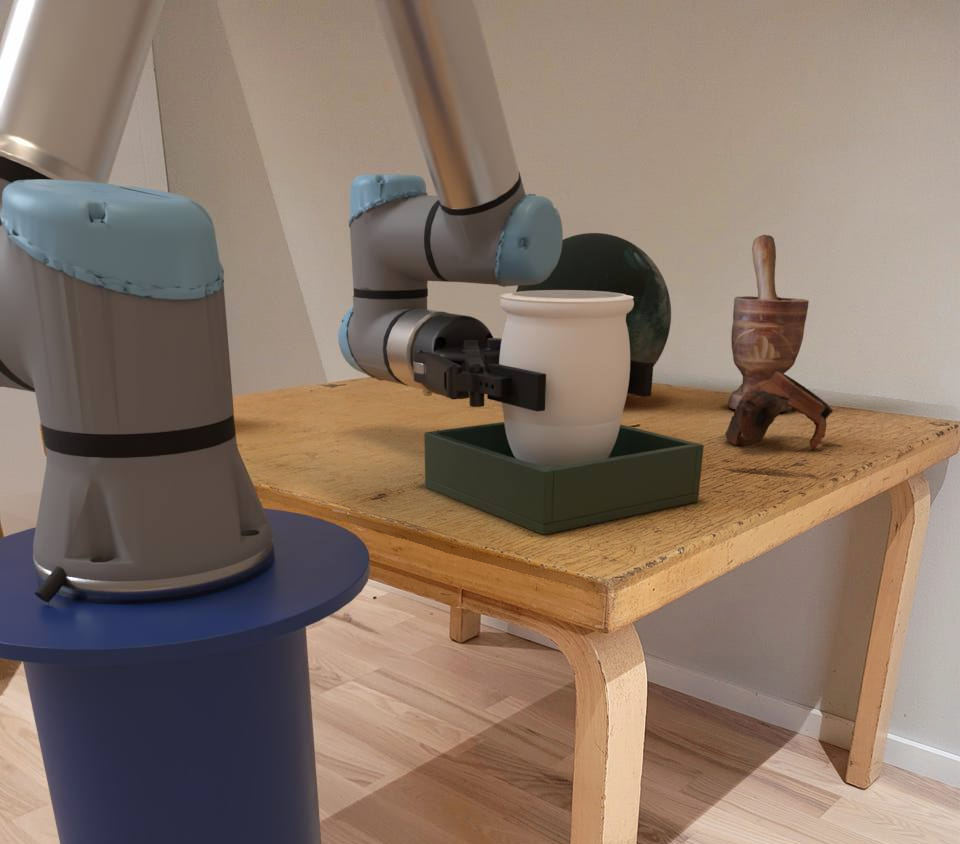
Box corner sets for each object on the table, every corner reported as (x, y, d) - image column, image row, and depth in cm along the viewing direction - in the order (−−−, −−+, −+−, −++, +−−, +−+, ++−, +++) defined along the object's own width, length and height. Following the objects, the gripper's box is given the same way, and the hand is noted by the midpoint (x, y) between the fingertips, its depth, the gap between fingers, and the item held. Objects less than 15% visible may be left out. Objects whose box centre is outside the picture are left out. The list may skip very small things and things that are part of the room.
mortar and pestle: (696, 400, 125) (713, 234, 117) (753, 397, 127) (773, 234, 119) (747, 416, 115) (769, 236, 107) (808, 413, 117) (833, 236, 109)
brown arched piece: (736, 434, 108) (783, 370, 104) (801, 484, 104) (852, 420, 100) (694, 422, 98) (745, 351, 94) (765, 477, 94) (820, 406, 91)
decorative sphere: (679, 413, 116) (696, 235, 108) (515, 413, 115) (519, 233, 107) (646, 387, 134) (659, 232, 126) (504, 386, 134) (507, 231, 126)
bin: (543, 535, 71) (545, 471, 69) (424, 487, 84) (423, 432, 82) (698, 501, 80) (704, 444, 78) (570, 462, 92) (572, 412, 91)
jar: (479, 489, 79) (480, 296, 73) (520, 461, 88) (523, 287, 82) (605, 502, 75) (617, 301, 69) (634, 472, 84) (647, 291, 78)
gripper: (536, 383, 99) (695, 418, 83) (337, 406, 87) (477, 452, 70) (538, 307, 96) (704, 327, 79) (333, 319, 84) (477, 346, 67)
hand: (597, 386), depth 75 cm, fingers closed on jar, 10 cm apart
